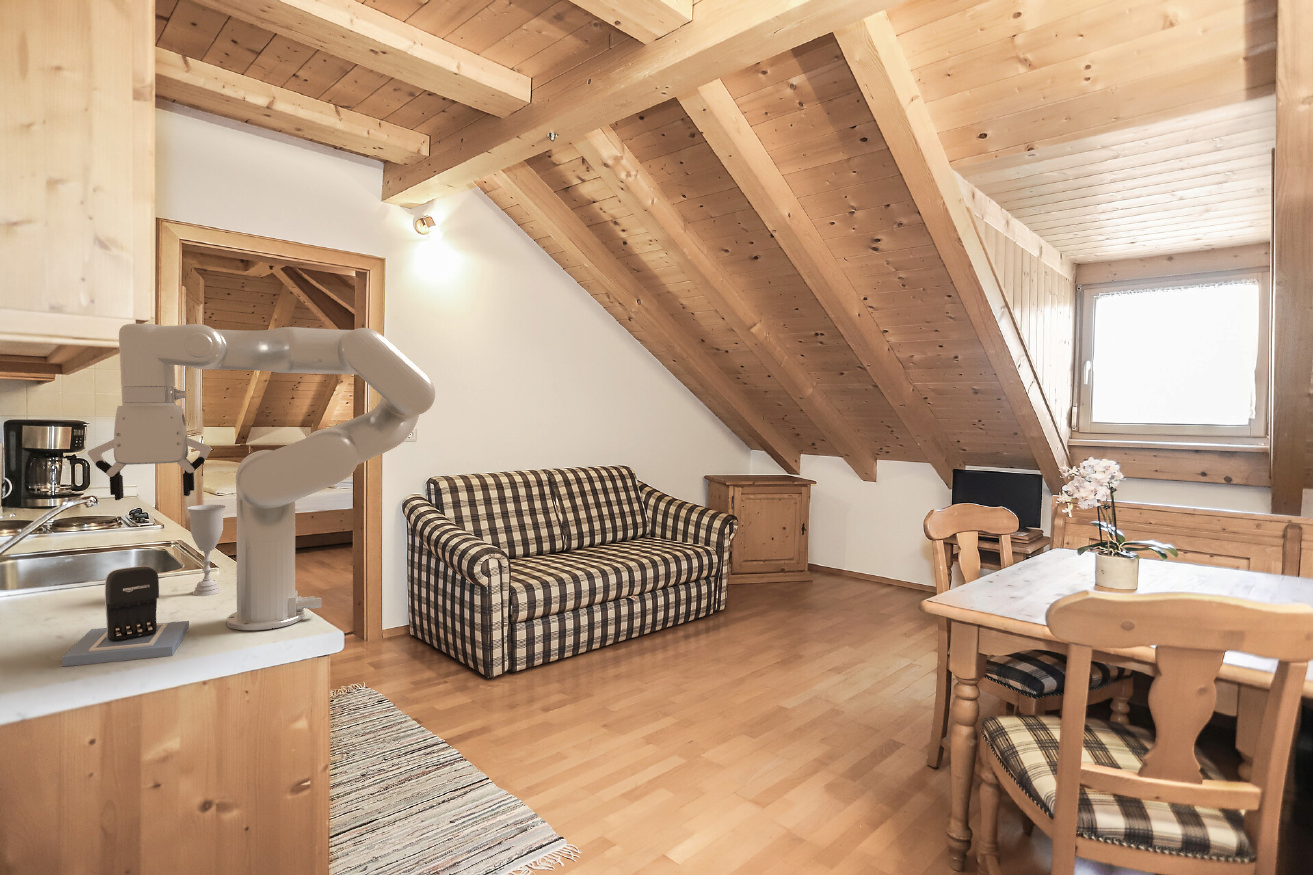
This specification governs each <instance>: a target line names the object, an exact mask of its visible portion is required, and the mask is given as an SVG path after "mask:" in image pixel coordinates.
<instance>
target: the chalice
mask: <svg viewBox="0 0 1313 875" xmlns="http://www.w3.org/2000/svg"><path fill="white" fill-rule="evenodd" d="M225 509H226V505H223V504H200V505H192V506H187V510H188V512H189V513H190V514H189V515H190V516H189V518H190V519H189V520H190V521H189V525H190V528H189V530H190V531H189V532H190V535H191V536H192V539H193V542H194V544H195V545H196V546H197V548H198V550H199V551H201V552H203V554H204V557H203V560H202V562H203V565H204V566H203V568H202V571H203V574H204V577H203V578H202V580H200V581H199V582H197V584H196V586H195V588H194V591H193V592H192V595H193V596H197V597H198V596H202V597H203V596H212V595H216V594H219V593H221V592H222V589H221V588H220V586H219V585H218V582H217V581H216V580H214V579H212V578H211V576H210V574H211V571H212V569H213V568H212V567H211V566H210V563H211V562H212V559H211V557H210V554H211V553H210V552H211V551H213V550H216V546H217V545H218V543H219V541H220V539H221V536H222V533H223V530H224V511H225Z"/></svg>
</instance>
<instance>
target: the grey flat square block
mask: <svg viewBox="0 0 1313 875" xmlns="http://www.w3.org/2000/svg"><path fill="white" fill-rule="evenodd" d="M156 623H157V622H156ZM189 630H190V620H183V621H171V622H160V623H159V622H158V623H157V631H156V633H154V634H151V635H147V636H142V637H137V638H132V639H126V640H120V641H112V640H109V639H107V638H106V633H107V627H100V628H91V629H90V630H89V631H88V632H86V634H84V636H82V638H80V639H79V640H78V641H77V642H76V643H75V644H74V645H73V646H72V647H71V648H70V649H69V650H68V651H66V653H65V654H63V656H62V657H61V660H62V661H61V665H62V667H71V666H82V665H92V664H101V663H103V664H104V663H113V662H122V661H130V660H131V661H132V660H139V659H140V660H141V658H143V659H151V658H160V657H161V658H162V657H171V656H172V657H173V655H174V653H175V652H176V651H177V649H178V648H179V646H180V644H182V643H181V642H182V640H183V639H184V638H185V637H186V635H187V633H188V631H189Z"/></svg>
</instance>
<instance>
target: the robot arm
mask: <svg viewBox="0 0 1313 875" xmlns="http://www.w3.org/2000/svg"><path fill="white" fill-rule="evenodd" d="M118 344H119V345H118V347H119V367H120V369H119V370H120V385H121V387H120V388H121V405H117V408H116V412H115V418H114V419H115V420H114V429H113V431H114V432H113V439H111V440H110V441H107V442H105V443H103V444H100V445H98V446H95V447H94V448H92V449H89V450H88V451H87V455H88V456H89V458H90V460H91V461H92V462H93V463H94V465H95V467H96V468H97V469H99V470H100V471H102V472H103V473H105V474H106V476H107V477H109V492H110V496H114V500H115V501H120V500H121V499H123V498H124V494H125V493H124V479H123V477H124V476H123V475H122V474H121V471H122V470H123V469H124V467H125V466H126V465H131V466H132V465H155V464H156V465H157V464H160V465H161V464H175V463H176V464H178V466H180V467H181V468H182V469H183V473H182V488H183V491H182V492H183V496H184V497H189V496H190V495H191V491H193V492H194V491H195V471H196V470H197V469H199V467H200V466H202V465H203V464H204V463H205V461H206V460H207V458H208V456H209V455H210V453H211V451H212V447H211V446H210V445H207V444H205V443H203V442H201V441H198V440H195V439H193V438H190V437H188V433H187V424H186V418H185V415H184V410H183V407H182V405H181V404H178V405H177V401H178V400H181V399H187V398H186V396H187V395H186V390H181V389H178V388H177V387H176V372H175V366H182V367H189V368H190V367H191V368H194V369H197V370H213V371H214V370H217V371H220V370H221V371H223V370H224V371H227V370H228V371H257V372H258V371H260V372H263V371H264V372H272V373H279V374H318V375H319V374H321V375H324V374H325V375H329V374H330V375H358V376H359V377H360V378H361V379H362V380H364V382H365V383H367V384H368V385H369V386H370V388H372V389H373V390H375V391H376V392H377V394H379V395H380V400H379V402H378V404H377V405H376V406H375V408H372V410H369V411H368V412H366V413H364V414H360V415H358V416H356V417H353V418H352V419H349V420H346V421H344V422H341V423H337V424H335V425H332V426H329V427H326V428H322V429H318V430H315V431H313V432H311V433H310V434H308V435H307V436H306V437H304V438H303V439H301V440H297V441H295V442H293V443H289V444H287V445H285V446H282V447H279V448H276V449H274V450H271V449H262V450H257V451H253V452H252V453H250V454H248V455H247V456H246V457H244V458H243V459H242V460H241V462H240V463H239V465H238V467H237V469H236V474H235V491H236V492H235V493H236V611H235V612H233V613H231V614H230V615H228V617H227V618H226V625H227V627H229V628H230V629H233V630H239V631H266V630H272V628H273V629H278V628H284V627H287V626H290V625H293V624H295V623H298V622H300V621H301V620H303V619H304V618H305V610H304V608H305V609H321V608H322V597H316V596H312V595H311V596H305V597H303V596H302V595H298V593H299V592H298V590H297V589H296V501H298V500H301V499H302V498H303V499H304V498H305V497H308V496H311V495H313V494H316V493H317V492H321V491H323V490H324V489H328V488H329V487H332V486H335V485H336V484H339V483H341V482H343V481H344V480H346V479H347V478H348V477H350V476H351V475H352V474H353V473H354V472H355V470H356V469H357V467H358V465H360V464H363V463H365V462H368V461H371V460H372V459H374V458H376V457H378V456H381V455H382V454H385V453H387V452H390V451H391V450H393V449H395V448H397V447H398V446H400V445H401V444H403V443H404V441H406V440H407V438H409V436H410V435H411V433H412V432H413V430H414V429H415V427H416V425H417V423H418V420H419V417H420V415H422V414H424V413H426V412H427V411H429V410H430V409H431V407H432V406H433V404H434V402H435V398H436V389H435V386H434V383H433V382H432V380H431V379H430V377H429V376H428V375H427V374H426V373H424V372H423V370H421V369H420V368H419V367H418V366H417V365H416V364H415V363H414V362H412V361H411V360H410V359H409V358H408V357H407V356H406V355H405V354H404V353H403V352H402V351H400V350H399V348H397V347H396V346H395V345H394V344H392V343H391V342H390V341H389V340H388V339H387V338H386V337H385V336H384V335H383V334H381V333H380V332H379V331H376V330H375V329H372V328H368V327H361V328H359V327H358V328H355V329H336V328H335V329H334V328H333V329H331V328H317V327H316V328H314V327H297V326H286V327H285V326H283V327H276V328H272V329H264V330H263V329H262V330H237V329H235V330H233V329H216V328H213V327H211V326H209V325H207V324H199V323H198V324H197V323H195V324H194V323H192V324H179V325H178V324H177V325H162V324H156V323H155V324H152V323H127V324H124V325H122V326H121V327H120V328H119V330H118ZM189 447H190V448H192V449H195V450H197V451H199V454H198V457H197V458H196V459H195V460H193V462H191V461H190V460H189V459H188V455H189ZM112 449H113V456H114V457H113V458H114V461H115V462H114V463H113V465H112V464H111V463H109V462H108V461H106V460H105V459H104V457H103V456H102V455H103V453H105V452H108V451H110V450H112Z"/></svg>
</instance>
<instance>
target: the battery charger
mask: <svg viewBox="0 0 1313 875" xmlns="http://www.w3.org/2000/svg"><path fill="white" fill-rule="evenodd" d="M159 580H160V578H159V573H158V572H157V571H156V570H155V569H154V568H153V567H151V566H149V565H139V566H138V565H137V566H130V567H123V568H117V569H113V570H111V571H110V572H108V573H107V575H106V577H105V582H104V604H105V605H104V606H105V607H104V608H105V619H106V628H107V633H106V638H107V639H109V640H112V641H120V640H126V639H132V638H137V637H142V636H147V635H151V634H154V633H156V631H157V607H158V605H157V604H158V598H159V597H160V583H159V582H160V581H159Z"/></svg>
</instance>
